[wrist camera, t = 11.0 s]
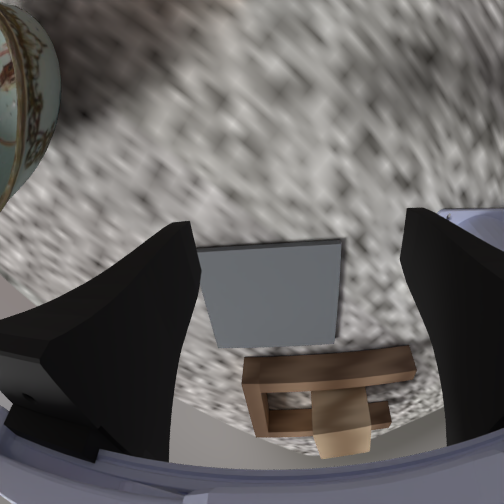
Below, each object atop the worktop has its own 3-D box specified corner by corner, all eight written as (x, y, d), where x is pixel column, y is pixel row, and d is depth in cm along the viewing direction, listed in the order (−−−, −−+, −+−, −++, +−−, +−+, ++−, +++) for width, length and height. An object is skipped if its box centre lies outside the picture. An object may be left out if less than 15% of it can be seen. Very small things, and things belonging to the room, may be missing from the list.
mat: (340, 239, 21) (341, 244, 21) (333, 339, 27) (334, 343, 26) (193, 248, 22) (191, 252, 22) (218, 343, 28) (218, 347, 27)
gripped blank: (360, 362, 29) (371, 425, 23) (362, 396, 32) (369, 451, 26) (309, 371, 30) (312, 435, 24) (318, 404, 33) (321, 458, 27)
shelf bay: (409, 345, 27) (416, 370, 24) (385, 406, 33) (388, 427, 31) (244, 357, 29) (241, 384, 26) (257, 415, 35) (256, 437, 33)
